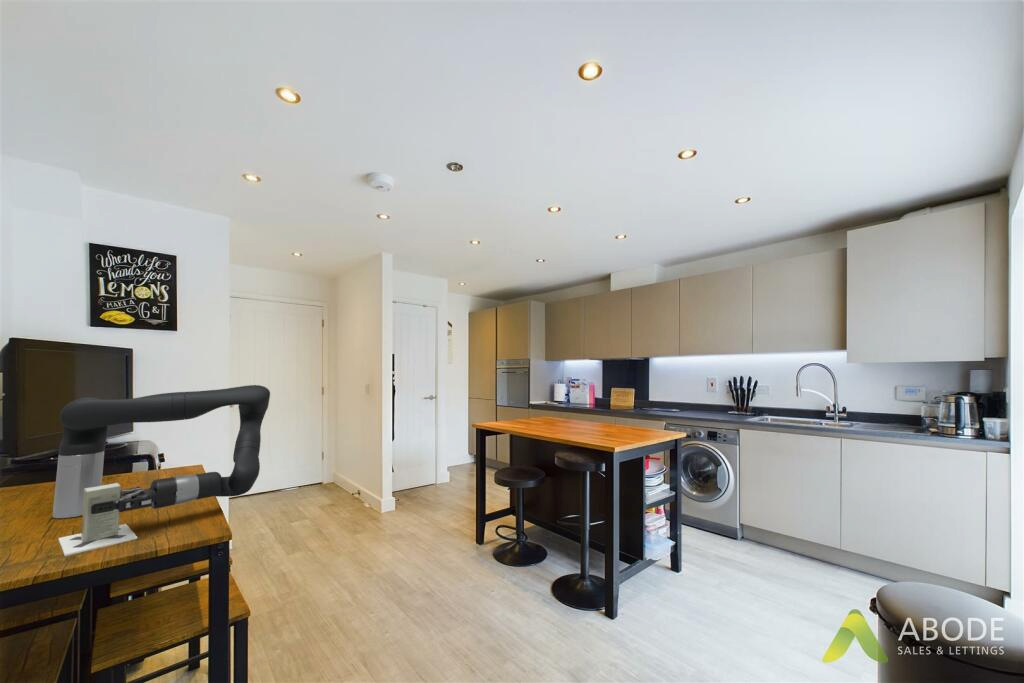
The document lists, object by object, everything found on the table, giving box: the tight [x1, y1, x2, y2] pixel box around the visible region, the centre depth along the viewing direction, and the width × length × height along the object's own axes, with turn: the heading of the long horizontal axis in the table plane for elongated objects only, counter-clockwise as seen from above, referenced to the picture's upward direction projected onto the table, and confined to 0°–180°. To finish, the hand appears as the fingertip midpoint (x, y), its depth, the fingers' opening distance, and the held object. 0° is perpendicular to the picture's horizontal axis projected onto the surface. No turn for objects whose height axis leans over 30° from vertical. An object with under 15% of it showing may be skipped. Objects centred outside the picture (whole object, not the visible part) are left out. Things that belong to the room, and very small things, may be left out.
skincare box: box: [80, 482, 122, 543], centre depth 98 cm, size 6×4×12 cm
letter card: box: [58, 523, 138, 557], centre depth 98 cm, size 14×12×1 cm
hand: (89, 506), depth 97 cm, fingers open, 7 cm apart
